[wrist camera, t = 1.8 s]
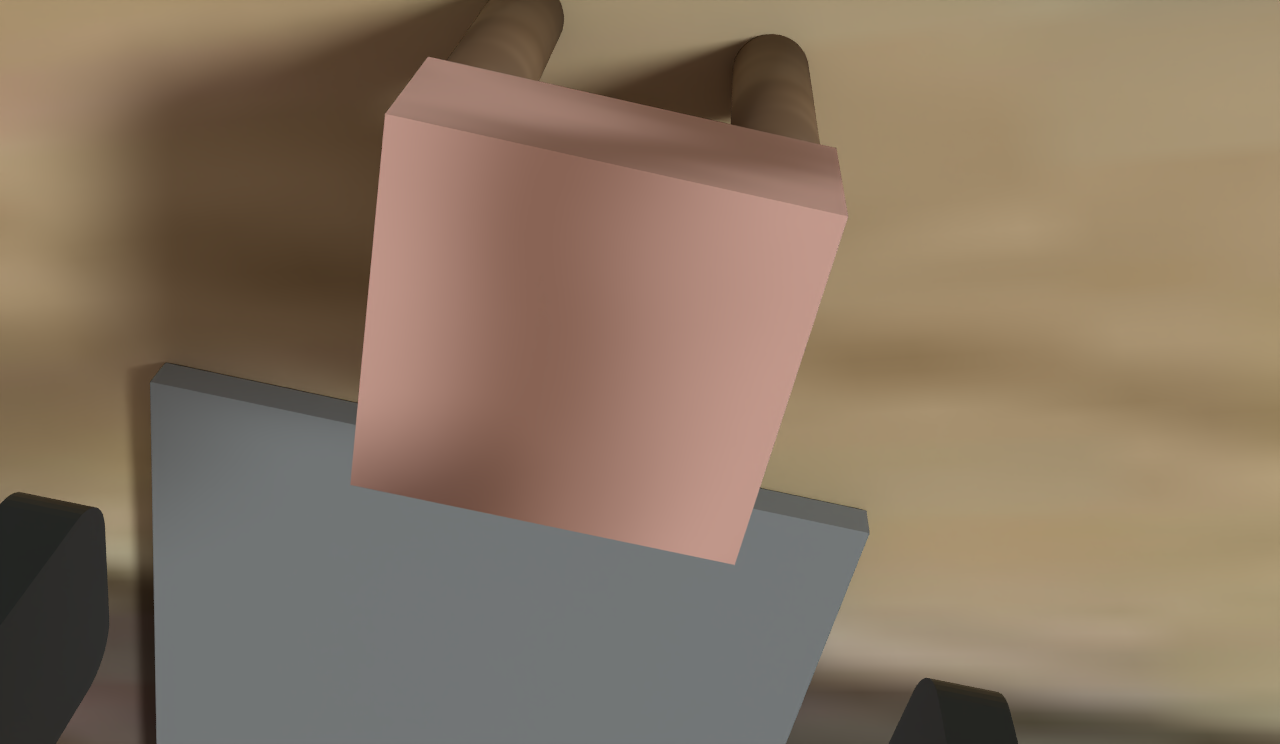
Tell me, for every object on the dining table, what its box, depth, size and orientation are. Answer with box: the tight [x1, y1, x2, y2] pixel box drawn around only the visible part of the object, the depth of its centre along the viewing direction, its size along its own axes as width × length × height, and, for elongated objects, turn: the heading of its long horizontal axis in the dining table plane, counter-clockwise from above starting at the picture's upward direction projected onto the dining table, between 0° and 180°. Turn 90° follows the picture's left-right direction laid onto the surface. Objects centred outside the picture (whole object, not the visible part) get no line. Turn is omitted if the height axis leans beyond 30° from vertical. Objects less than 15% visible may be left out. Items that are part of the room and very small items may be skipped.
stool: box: [350, 0, 848, 565], centre depth 20 cm, size 6×6×8 cm
